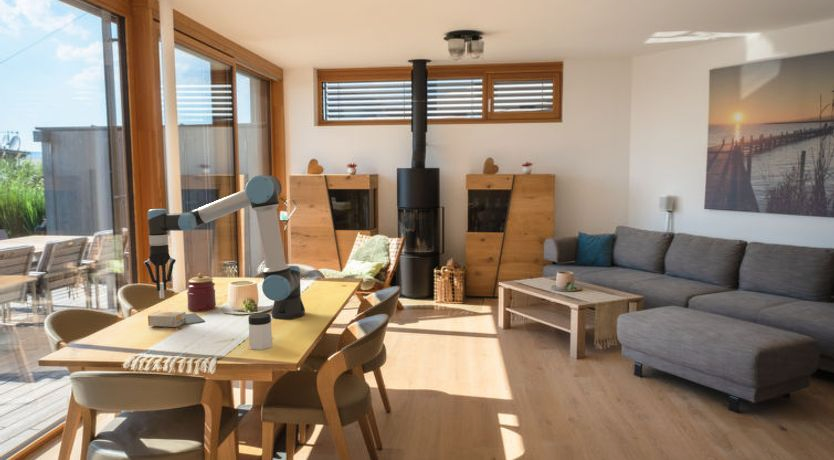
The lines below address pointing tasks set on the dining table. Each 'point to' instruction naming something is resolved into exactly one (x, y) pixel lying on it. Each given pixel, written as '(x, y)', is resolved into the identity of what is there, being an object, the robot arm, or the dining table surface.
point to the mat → (191, 319)
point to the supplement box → (167, 319)
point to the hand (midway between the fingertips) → (161, 297)
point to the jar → (260, 331)
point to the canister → (201, 293)
